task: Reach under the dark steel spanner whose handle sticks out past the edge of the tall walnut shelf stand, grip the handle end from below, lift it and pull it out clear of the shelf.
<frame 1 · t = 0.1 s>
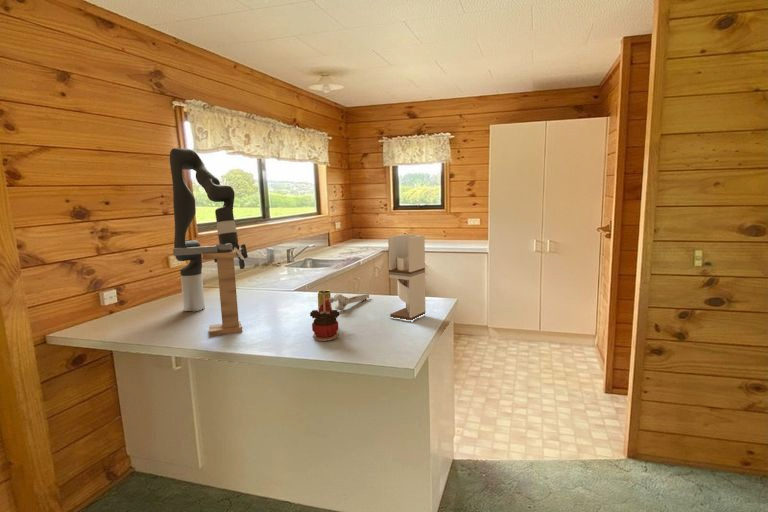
hand: (233, 270, 183), 22 cm above the table, tool pointing down, fingers open, 8 cm apart
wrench: (352, 306, 208), on the table
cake: (325, 338, 162), on the table
beige cubby tower: (408, 317, 186), on the table
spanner: (202, 253, 167), point 32 cm above the table, touching shelf stand
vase: (325, 326, 177), on the table
shelf stand: (225, 331, 174), on the table
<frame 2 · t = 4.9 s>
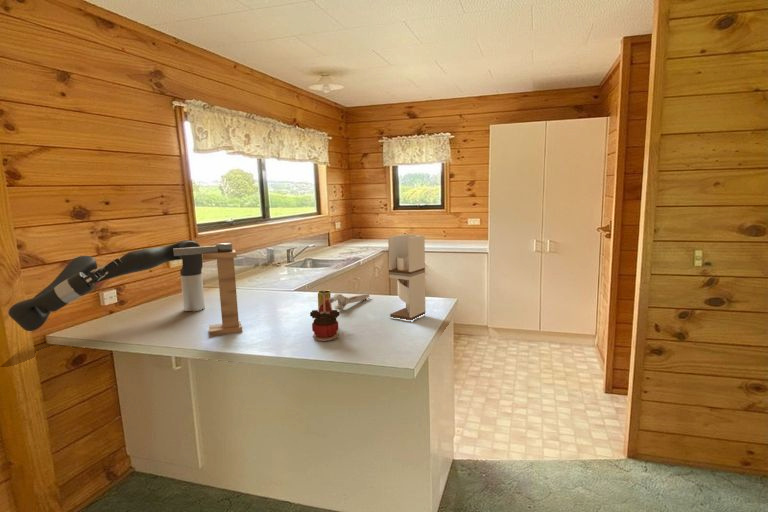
hand: (118, 261, 156), 31 cm above the table, tool pointing upward, fingers open, 8 cm apart
nothing on the table moved.
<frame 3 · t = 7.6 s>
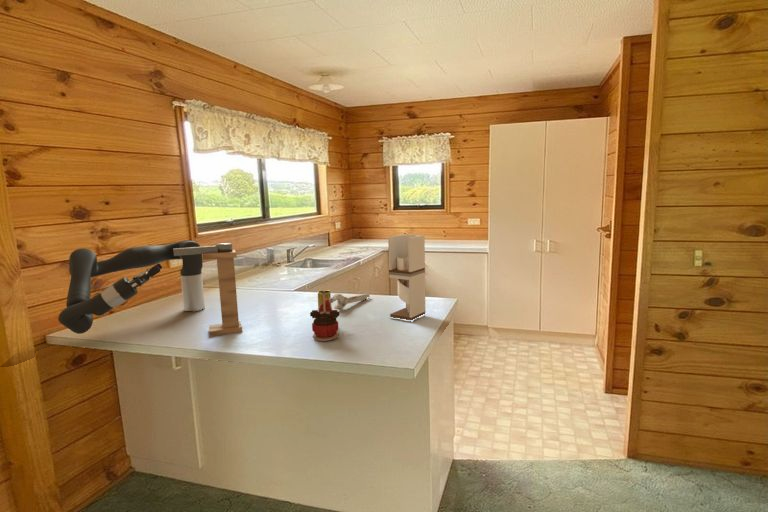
hand: (160, 266, 161), 28 cm above the table, tool pointing upward, fingers open, 8 cm apart
nothing on the table moved.
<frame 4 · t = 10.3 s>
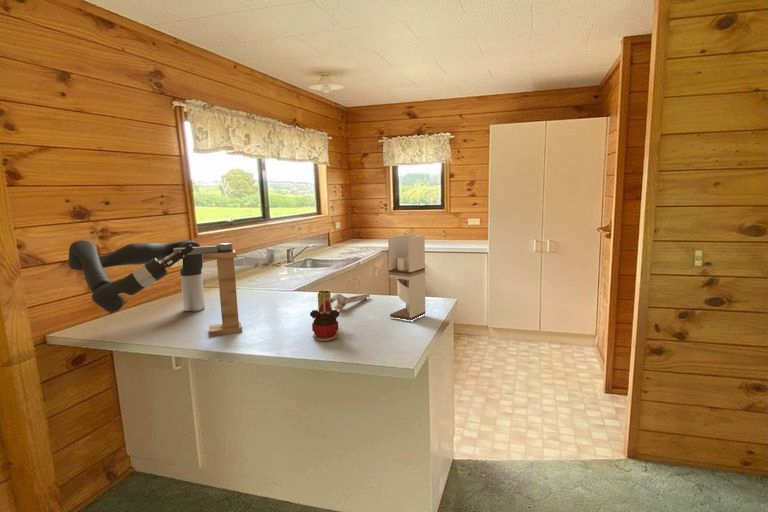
hand: (191, 247, 165), 35 cm above the table, tool pointing upward, fingers closed on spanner, 3 cm apart
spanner: (202, 253, 167), point 32 cm above the table, touching gripper, shelf stand
everything else where it was.
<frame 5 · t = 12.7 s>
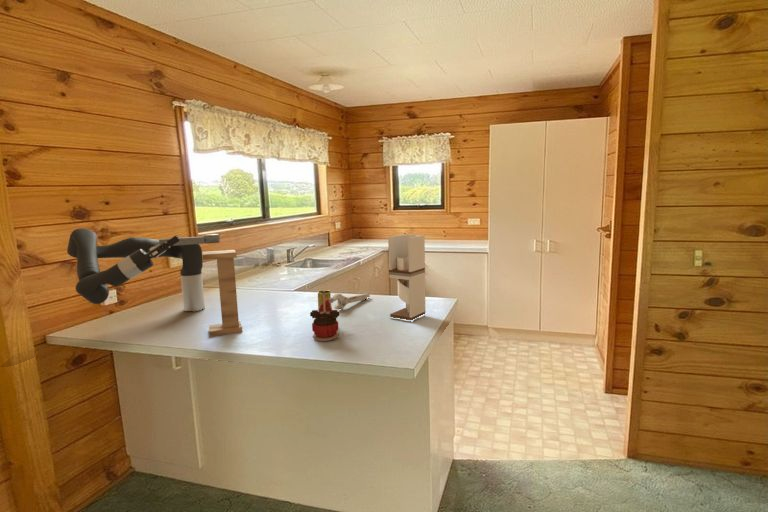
hand: (178, 237, 162), 39 cm above the table, tool pointing upward, fingers closed on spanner, 3 cm apart
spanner: (189, 244, 164), point 36 cm above the table, touching gripper
everything else where it was.
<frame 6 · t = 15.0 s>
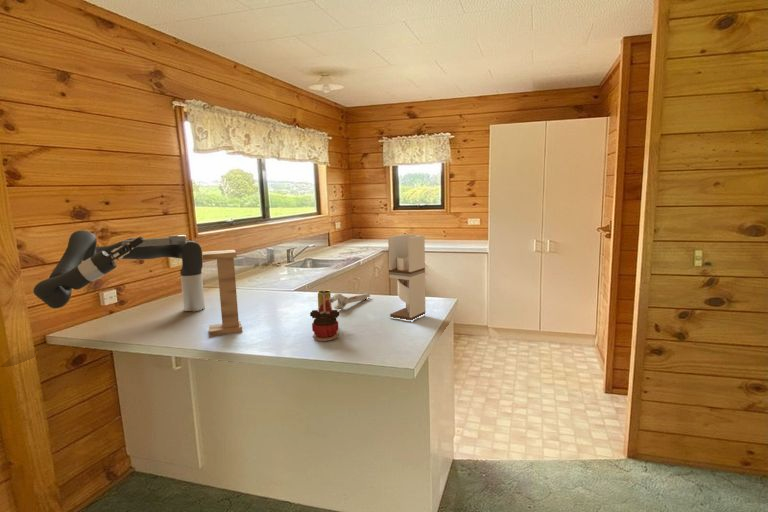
hand: (142, 238, 157), 39 cm above the table, tool pointing upward, fingers closed on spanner, 3 cm apart
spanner: (154, 245, 159), point 36 cm above the table, touching gripper
everything else where it was.
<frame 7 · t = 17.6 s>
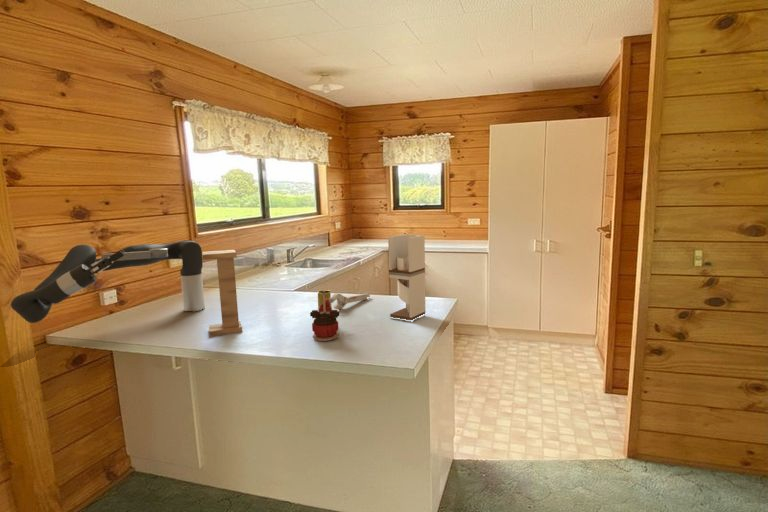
hand: (122, 252, 156), 34 cm above the table, tool pointing upward, fingers closed on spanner, 3 cm apart
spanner: (134, 258, 158), point 32 cm above the table, touching gripper
everything else where it was.
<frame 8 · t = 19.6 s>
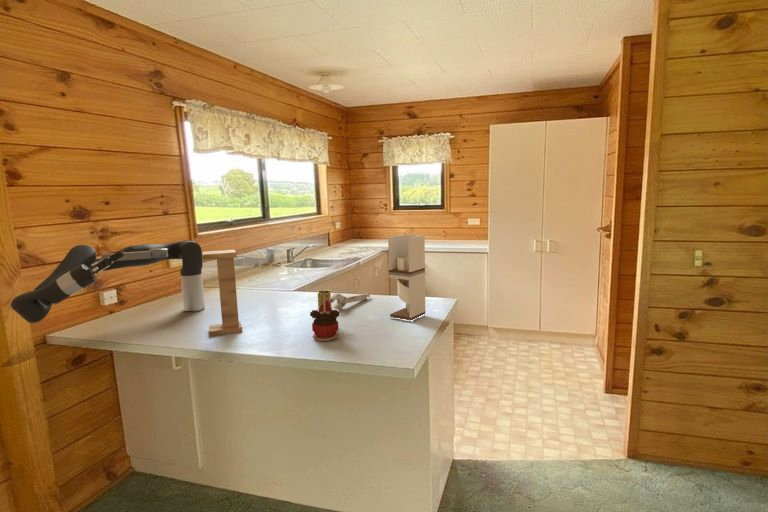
hand: (122, 252, 156), 34 cm above the table, tool pointing upward, fingers closed on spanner, 3 cm apart
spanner: (134, 259, 158), point 32 cm above the table, touching gripper
at the end: the gripper is holding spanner; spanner touching gripper; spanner inside the target area (2.1 cm from its centre), point 31.7 cm above the table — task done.
